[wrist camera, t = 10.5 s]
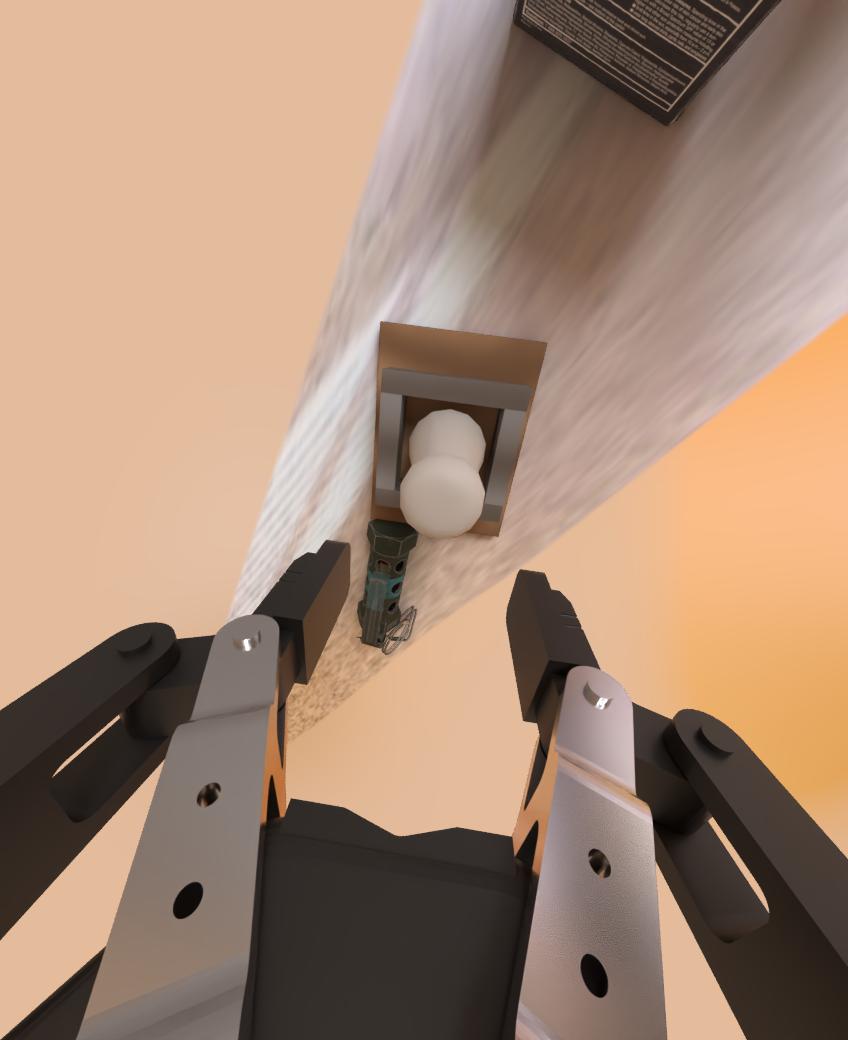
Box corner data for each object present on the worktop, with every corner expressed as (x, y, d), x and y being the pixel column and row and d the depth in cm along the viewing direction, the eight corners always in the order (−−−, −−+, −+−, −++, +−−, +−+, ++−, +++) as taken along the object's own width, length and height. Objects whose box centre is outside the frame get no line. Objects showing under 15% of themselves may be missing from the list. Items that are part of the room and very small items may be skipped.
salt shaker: (418, 478, 29) (391, 562, 18) (406, 410, 27) (366, 456, 15) (486, 470, 28) (505, 553, 17) (480, 399, 26) (498, 439, 14)
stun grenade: (377, 509, 33) (362, 615, 39) (353, 540, 27) (340, 657, 34) (438, 525, 32) (413, 629, 39) (427, 560, 27) (400, 674, 33)
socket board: (383, 322, 25) (370, 317, 21) (544, 343, 24) (558, 341, 21) (373, 513, 32) (362, 533, 29) (497, 531, 32) (502, 554, 28)
